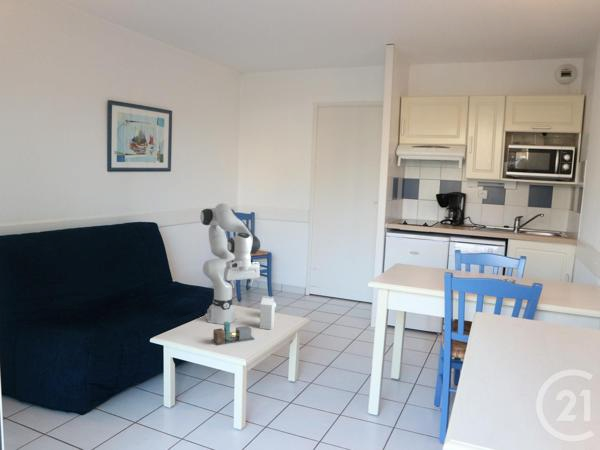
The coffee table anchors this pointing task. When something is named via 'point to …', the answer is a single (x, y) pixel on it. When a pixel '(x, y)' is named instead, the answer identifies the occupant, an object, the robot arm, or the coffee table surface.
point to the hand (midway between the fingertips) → (241, 287)
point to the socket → (219, 335)
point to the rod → (227, 331)
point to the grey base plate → (243, 336)
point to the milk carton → (267, 312)
